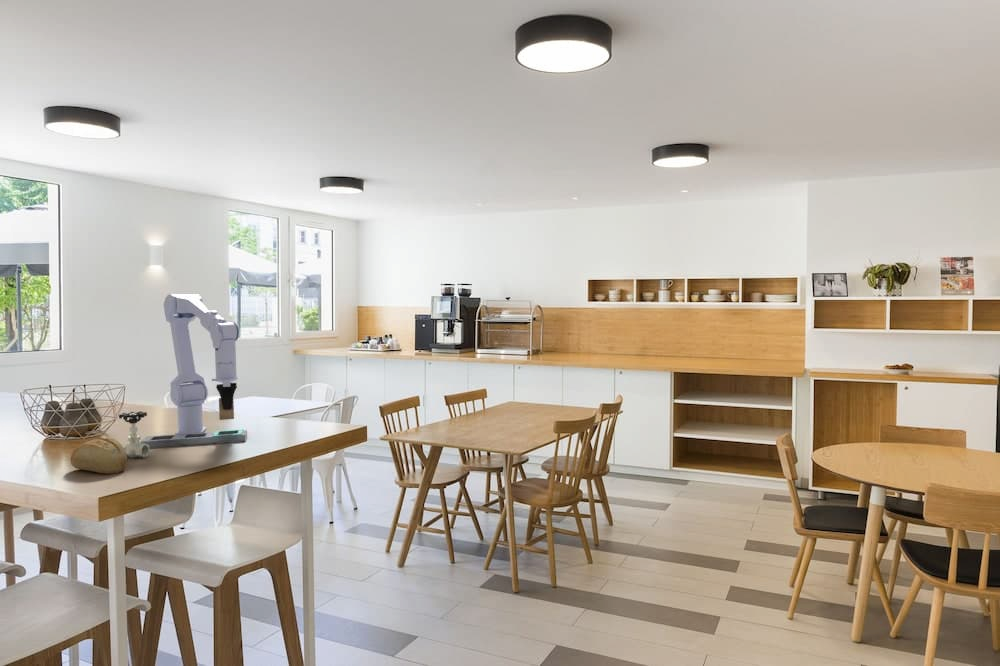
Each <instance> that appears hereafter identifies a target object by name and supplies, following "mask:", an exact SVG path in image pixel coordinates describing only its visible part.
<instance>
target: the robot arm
mask: <svg viewBox="0 0 1000 666" xmlns="http://www.w3.org/2000/svg"><path fill="white" fill-rule="evenodd" d="M163 309H164V315H165V317H164V318H165V322H167V323H169V325H170V326H169V327H170V331H171V337H172V338H171V339H172V344H173V349H174V351H173V352H174V356H175V357H174V358H175V362H176V368H177V376H176V377H174V378H173V379H172V381H171V382H170V391H169V393H170V396H169V397H170V400H171V402H172V403H173V405H174V406H176V408H177V431H176V432H174V433H175V434H174V435H177V434H192V433H205V432H204V431H205V430H206V429H207V426H204V417H203V404H205V401H206V400H207V398H208V395H209V390H208V387H207V385H206V382H205V378H204V377H203V376H202V375H200V374H199V373H197V372H196V366H195V360H194V355H193V354H194V353H193V349H192V343H191V336H190V330H189V324H190V323H191V322H193V321H195V320H196V318H198V319H199V320H200V324H201V326H202V327H203V328H204V329H205V330H206V331H208V332H209V336H210V339H211V341H212V347H213V348H214V356H215V357H214V358H215V359H214V361H215V362H214V363H215V364H214V365H215V377H213V378H212V377H211V381H212V382H218V383H220V384H216V386H215V389H216V390H217V392H218V393H219V396H220V397H219V398H221V401H222V405H223V409H224V410H228V409H231V408H232V403H233V402H234V395H235V392H236V389H237V387H238V385H237V382H235V381H238V375H237V355H236V354H237V352H236V351H237V350H236V348H237V347H236V342H237V341H238V339H239V336H240V329H239V326H238V324H237V323H236V322H235V321H227V320H226V319H225V318H224V317H222V316H221V315H220V314H219V313H218V311H217V310H209V309H208V308H207V307H206V306H205V305H204V303H203V298H202V296H200V294H198V293H193V294H191V293H190V294H189V293H187V294H179V293H178V294H172V293H169V294H166V297H165V298H164V302H163Z"/></svg>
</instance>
